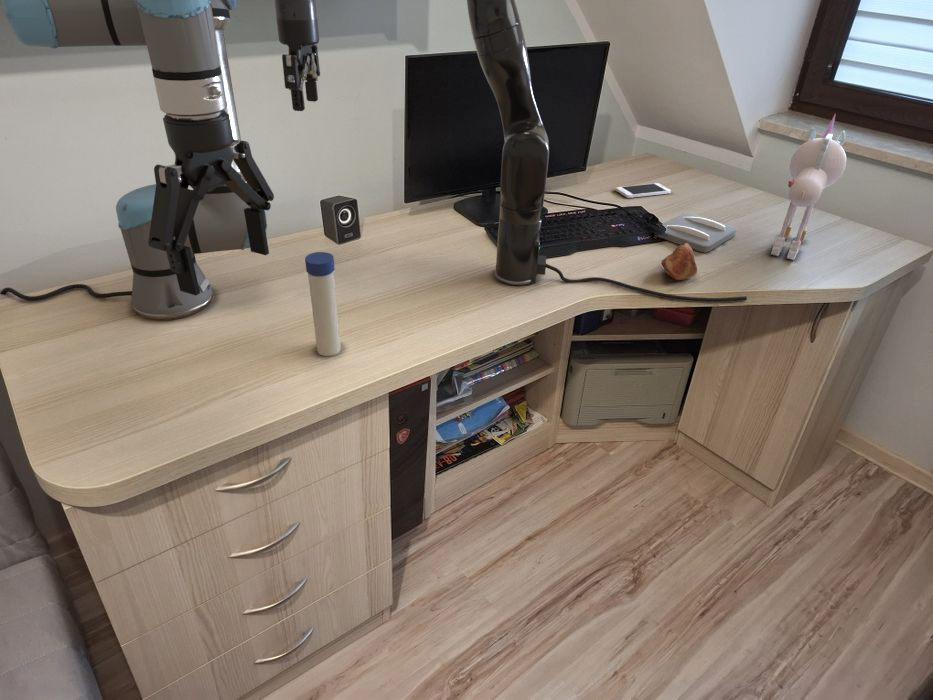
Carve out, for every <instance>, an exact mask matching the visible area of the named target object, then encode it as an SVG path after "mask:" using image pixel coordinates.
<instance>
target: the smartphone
mask: <svg viewBox="0 0 933 700" xmlns="http://www.w3.org/2000/svg"><path fill="white" fill-rule="evenodd" d="M615 192H617V193H619V194H620V195H622V196H624V197H625V198H628V199H630V198H639V197H640V198H641V197H649V196H656V195H657V196H659V195H665V194H671V192H672V190H671V189H670V188H668V187H666V186H664V185H663V184H661V183H658V182H654V183H645V184H644V183H643V184H636V185H634V184H633V185H626V186H617V187H615Z"/></svg>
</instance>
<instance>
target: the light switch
mask: <svg viewBox="0 0 933 700" xmlns="http://www.w3.org/2000/svg"><path fill="white" fill-rule="evenodd" d="M661 224H662V225H663V226H664V227H665V228H666V231H665V234H667V235H668V237H665V236H662V235H658V236H657V235H654V236H655V237H657V238H659V239H663V240H665V241H669V242H671V243H674V244H677V245H679V246H680V245H684V244H685V243H688V244H689V245H690V246H691V248H692V250H694V251H697V252H699V253H709V252H711V251H712V250H714V249H716V248H717V247H719V246H720V245H722V244H724V243H725V242H727V241H730V239H732V238H734V237H736V234H737V228H736V227H734V226H732V225H729V224H725V223H722V222H719V221H716V220H713V219H710V218H707V217H703V216H700V215H697V214H694V213H690V212H683V213H682V214H679V215H677V216H675V217H673V218H671V219H669V220H668V221H666V222H663V223H661Z"/></svg>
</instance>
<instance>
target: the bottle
mask: <svg viewBox="0 0 933 700" xmlns="http://www.w3.org/2000/svg"><path fill="white" fill-rule="evenodd" d="M334 271H335V270H334ZM334 271H333V272H332V273H330V274H328V275H324V276H314V275H310V274H308V273H307V278H308V285H309V292H310V293H309V294H310V302H311V309H312V310H311V311H312V319H313V328H314V335H315V344H316V352H317V353H318V355H321V356H324V357H333V356H336V355H337V354H339V353H340V352H341V351H342V347H341V335H340V326H339V315H338V305H337V294H336V293H337V292H336V284H335V281H336V280H335V272H334Z"/></svg>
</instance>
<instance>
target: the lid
mask: <svg viewBox="0 0 933 700" xmlns="http://www.w3.org/2000/svg"><path fill="white" fill-rule="evenodd" d="M304 262H305V263H304V264H305V271H306V273H307V275H308V274H310V275H314V276H324V275H328V274H330V273H332V272H333V271H335V269H336V268H335V257H334V255H333V254H332V253H330V252H326V251H317V252H312V253H309V254H307V255H306V256H305V258H304Z"/></svg>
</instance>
